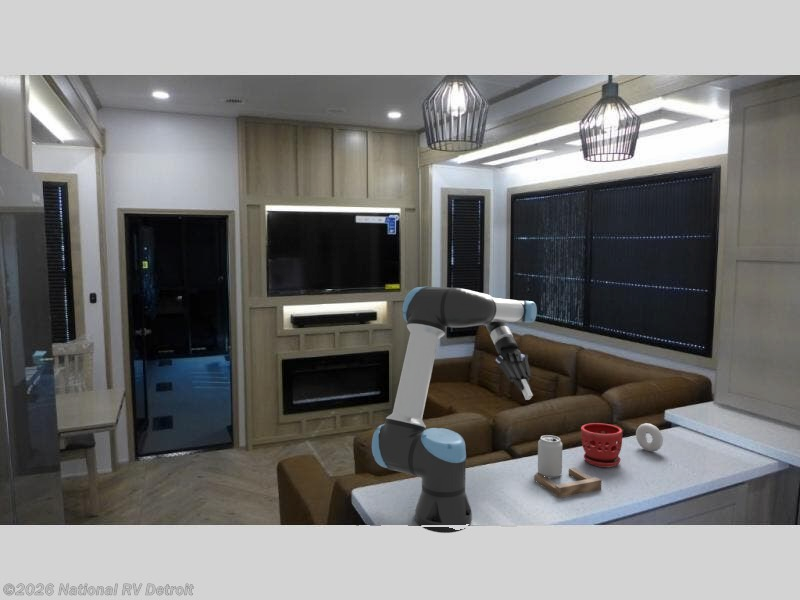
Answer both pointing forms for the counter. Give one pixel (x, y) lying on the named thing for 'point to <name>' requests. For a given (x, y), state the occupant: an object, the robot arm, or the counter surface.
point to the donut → (653, 432)
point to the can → (550, 456)
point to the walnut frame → (570, 484)
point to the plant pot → (601, 444)
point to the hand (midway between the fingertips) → (529, 397)
